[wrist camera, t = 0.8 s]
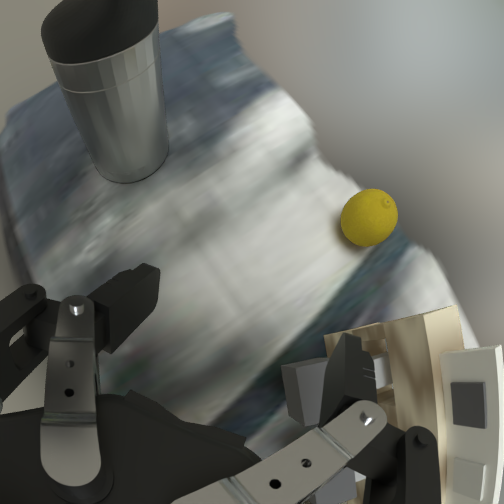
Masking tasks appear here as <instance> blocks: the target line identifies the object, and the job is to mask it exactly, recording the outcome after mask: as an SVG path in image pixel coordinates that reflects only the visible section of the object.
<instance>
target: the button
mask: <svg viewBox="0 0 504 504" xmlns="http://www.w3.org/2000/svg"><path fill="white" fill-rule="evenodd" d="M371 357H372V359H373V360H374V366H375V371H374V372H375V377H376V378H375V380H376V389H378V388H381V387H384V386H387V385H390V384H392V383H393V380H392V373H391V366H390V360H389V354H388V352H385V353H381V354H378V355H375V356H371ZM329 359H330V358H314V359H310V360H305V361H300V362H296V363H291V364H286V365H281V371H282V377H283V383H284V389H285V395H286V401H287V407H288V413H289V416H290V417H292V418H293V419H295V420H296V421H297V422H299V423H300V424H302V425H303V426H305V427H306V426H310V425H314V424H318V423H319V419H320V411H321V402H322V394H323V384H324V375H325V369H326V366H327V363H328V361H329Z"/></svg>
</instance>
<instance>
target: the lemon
mask: <svg viewBox="0 0 504 504" xmlns="http://www.w3.org/2000/svg"><path fill="white" fill-rule="evenodd" d="M397 218H398V211H397V207H396V204H395V202H394V200H393V199H392V198H391V197H390V196H389V195H388V194H387V193H385V192H383V191H382V190H378V189H367V190H363V191H361V192H359V193H357V194H356V195H354V196H353V197H351V198H350V199H349V201H348V202H347V203H346V204H345V206H344V208H343V211H342V213H341V228H342V230H343V233H344V234H345V236H346V237H347V238H348V239H349V240H350V241H351V242H352V243H354V244H356V245H359V246H366V247H368V246H373V245H377V244H379V243H380V242H382V241H384V240H385V239H386V238H387V237H388V236H389V235H390V234H391V233H392V231H393V230H394V228H395V225H396V223H397Z"/></svg>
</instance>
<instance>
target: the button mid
mask: <svg viewBox="0 0 504 504" xmlns="http://www.w3.org/2000/svg"><path fill="white" fill-rule="evenodd" d="M365 478H366V476H364V475H362V474H360V473H358V472H356V471H354V470H352V469H350V468H348V467H346V468H345V469H344V470H343V471H342V472H341V473H339V474H338V475H337V476H336V477H335V478H334V479H332V480H331V481H330V482H329V483H328V484H326V485H325V486H324V487H323V488H321V489H320V490H319V491H318V492H316V493H315V494H314V495H313V496H312V497H310V498H309V499H308V500H309V501H310V502H311V503H312V504H340V503H343V502H346V501H348V500H351V499H354V498H356V497H357V491H356V482H358V481H360V480H363V479H365Z"/></svg>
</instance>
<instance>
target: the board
mask: <svg viewBox="0 0 504 504" xmlns="http://www.w3.org/2000/svg"><path fill="white" fill-rule="evenodd" d="M344 332H345V333H349V334H352V335H355V336H359V337H361V342H362V350H363V351H367V352H369V353H370V355H371V356H375V355H378V354H381V353H385V352H387V351H386V345H385V338H386V342H387V348H388V354H389V360H390V366H391V373H392V380H393V388H394V389H392V384H390V385H387V386H384V387H381V388H378V389H377V403H378V405H379V406H380V407H381V408H382V409H383V410H384V412H385V413H386V416H387V422H388V423H389V424H391V425H393V426H395V427H397V428H399V429H401V430H403V431H405V432H406V431H407V430H408V429H409V428H410V427H412V426H422V427H425V428H427V429H428V430H430V431H431V432H432V433H433V435H434V436H435V438H436V440H437V446H438V456H439V467H440V481H441V504H445V499H446V478H447V438H446V416H445V402H444V391H443V381H442V373H441V365H440V357H439V354H441V353H443V352H446V351H455V350H464V342H463V336H462V329H461V324H460V318H459V313H458V308H457V304H456V305H453V306H449V307H445V308H442V309H438V310H434V311H430V312H426V313H422V314H418V315H414V316H410V317H406V318H401V319H397V320H393V321H388V322H384V323H374V324H370V325H366V326H362V327H358V328H354V329H350V330H345V331H341V332H336V333H332V334H327V335H324V340H325V346H326V352H327V357H328V358H330V357H331V355H332V353H333V351H334V349H335V347H336V345H337V343H338V341H339V339H340V337H341V335H342V334H343V333H344ZM365 480H366V478H365V479H363V480H360V481H358V482H356V491H357V497H356V498H354V499H351V500H348V501H347V504H363V497H364V489H365Z"/></svg>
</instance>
